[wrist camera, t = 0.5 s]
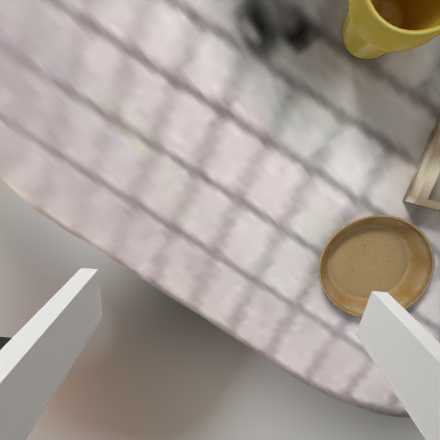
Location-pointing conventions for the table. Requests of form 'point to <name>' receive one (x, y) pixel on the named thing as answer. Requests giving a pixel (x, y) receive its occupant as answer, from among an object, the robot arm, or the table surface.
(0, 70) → the table surface
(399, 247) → the plant saucer
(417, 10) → the plant pot
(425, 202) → the tray
